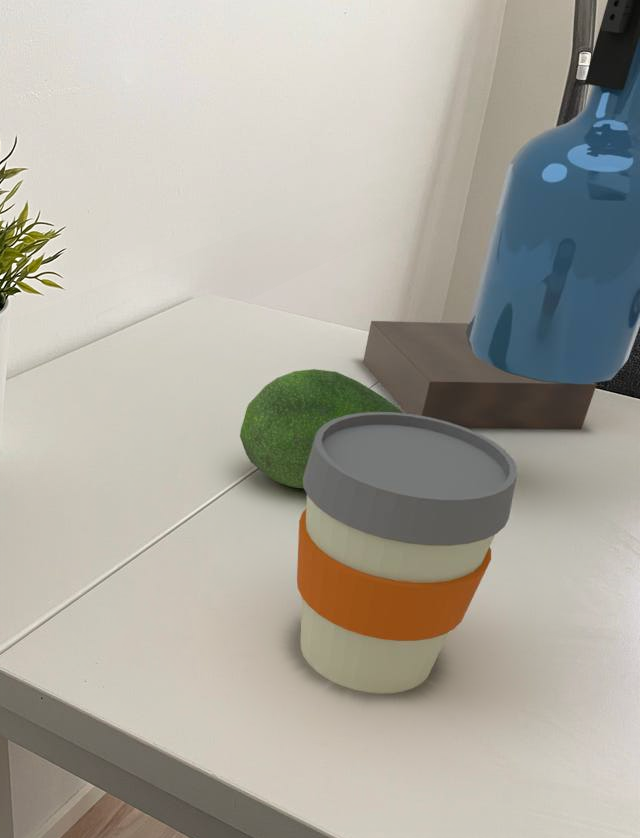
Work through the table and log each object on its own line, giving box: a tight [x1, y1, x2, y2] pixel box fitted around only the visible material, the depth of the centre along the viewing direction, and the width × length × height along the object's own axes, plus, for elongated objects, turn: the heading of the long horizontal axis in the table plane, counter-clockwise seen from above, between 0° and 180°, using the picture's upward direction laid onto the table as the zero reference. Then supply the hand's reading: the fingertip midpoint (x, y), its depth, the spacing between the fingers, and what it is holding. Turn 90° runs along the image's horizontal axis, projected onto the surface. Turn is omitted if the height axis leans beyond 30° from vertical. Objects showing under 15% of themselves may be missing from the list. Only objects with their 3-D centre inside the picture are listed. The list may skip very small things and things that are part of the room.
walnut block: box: [362, 320, 598, 430], centre depth 108 cm, size 18×18×5 cm
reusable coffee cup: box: [296, 412, 518, 695], centre depth 64 cm, size 13×13×15 cm
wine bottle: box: [466, 37, 640, 384], centre depth 76 cm, size 14×13×30 cm
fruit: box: [239, 368, 404, 489], centre depth 86 cm, size 15×10×10 cm, turn 81°
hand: (623, 85), depth 73 cm, fingers closed on wine bottle, 4 cm apart
